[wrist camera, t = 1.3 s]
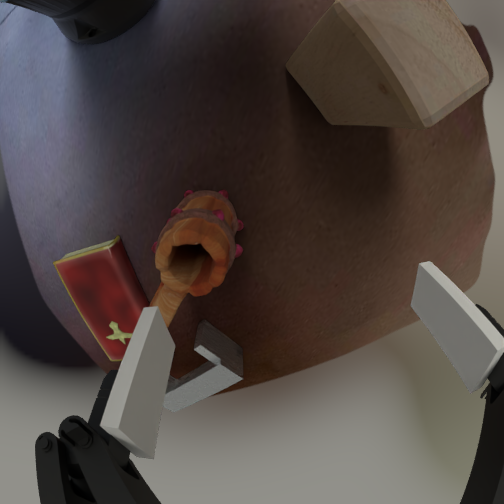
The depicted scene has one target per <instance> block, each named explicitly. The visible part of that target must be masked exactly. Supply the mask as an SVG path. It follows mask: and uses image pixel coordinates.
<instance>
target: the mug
mask: <svg viewBox="0 0 504 504" xmlns="http://www.w3.org/2000/svg"><path fill="white" fill-rule="evenodd" d="M228 196H229V194H228V192H227V191H226V190H221V191H219V192H216V191H211V190H201V191H197V192H193V191H192V190H187V191H186V192H185V193H184V197H185V198H184V199H183V200H182V201H181V202H180V203H179V205H178V206H177V207H176V208H175V209H174V210H172V212H171V218H170V219H168V220H167V222H166V225H165V227H164V228H163V230H162V231H161V233H160V235H159V238H158V241H157V242H155V243H154V245H153V246H152V248H151V249H152V251H153V253H155V254H156V255H155V263H156V268H157V269H158V270H160V272H161V283H160V285H159V287H158V289H157V291H156V293H155V296H154V298H153V300H152V301H151V303H150V306H149V307H155V306H158V308H159V310H160V313H161V315H162V317H163V320H164V322H165V324H166V327H167V328H168V327H169V325H170V323H171V321H172V319H173V317H174V315H175V313H176V311H177V309H178V307H179V305H180V303H181V302H182V300H183V299H184V297H185V296H186V295H187V293H190V294H192V295H193V296H195V297H196V296H202V295H207V294H208V293H210V292H211V290H212V289H213V287H218V286H219V285H221V284H222V282H223V281H224V278H225V275H226V273H227V272H228V271H229V269H230V267H231V266H232V263H233V261H234V258H237V257H239V256H240V255H241V254H242V252H243V249H242V248H241V246H240V245H238V244H236V243H235V238H234V237H235V234H236V232H237V231H240V230H242V229H243V228H244V225H243V222H242V221H241V220H239V219H237V215H236V211H235V209H234V207H233V205H232V203H231V202H230V201H229V199H228Z"/></svg>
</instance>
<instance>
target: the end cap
mask: <svg viewBox="0 0 504 504" xmlns="http://www.w3.org/2000/svg"><path fill="white" fill-rule="evenodd" d="M194 350H195V351H197V352H198V353H199V354H201V355H202V356H204V357H205V358H207V359H208V360H209V361H208V362H206V363H205V364H203V365H201V366H199V367H198V368H196V369H194V370H193V371H191V372H189V373H188V374H186V375H184V376H182V377H181V378H179V379H176V378H174V377H172V376H171V375H169V378H168V383H167V388H166V393H165V398H164V403H163V407H165V408H166V409H168V410H170V411H172V412H176V411H178V410H180V409H183V408H185V407H187V406H189V405H192V404H194V403H196V402H198V401H200V400H202V399H205V398H207V397H209V396H211V395H213V394H215V393H217V392H219V391H221V390H223V389H225V388H227V387H229V386H231V385H233V384H235V383H236V382H238V381H240V380H242V379H243V348H242V347H240V346H239V345H238V344H236V343H235V342H234V341H232V340H231V339H230V338H228V337H227V336H226V335H225V334H223V333H222V332H221V331H219V330H218V329H217V328H215V327H214V326H213V325H212V324H210V323H209V322H208V321H207V320H205V319H204V320H202V321H201V322H200V323H198V328H197V334H196V339H195V345H194Z"/></svg>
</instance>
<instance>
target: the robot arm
mask: <svg viewBox="0 0 504 504" xmlns="http://www.w3.org/2000/svg"><path fill="white" fill-rule="evenodd" d="M0 2H6V3H10V4H13V5H17V6H20V7H23V8H26V9H30V10H32V11H35V12H38V13H41V14H44V15H46V16H49V17H51V18H52V19H53V20H54V22H55V23H56V25H57V26H58V27H59V29H60V30H61V32H62V33H63V34H64V35H65V36H66V37H67V38H69V39H70V40H73V41H75V42H78V43H81V44H97V43H101V42H105V41H108V40H110V39H112V38H114V37H117V36H118V35H120V34H122V33H124V32H125V31H127V30H128V29H129V28H131V27H132V26H133V25H135V24H136V23H137V22H138V21H139V20H140V19H141V18H142V17H143V16H144V15H145V14H146V13H147V12H148V10H149V9H150V8H151V6H152V5H153V3H154V2H155V0H0ZM411 307H412V308H413V310H414V311H415V312H416V314H417V315H418V316H419V318H420V319H421V320H422V321H423V323H424V324H425V326H426V327H427V328H428V330H429V331H430V333H431V334H432V335H433V337H434V338H435V340H436V341H437V343H438V344H439V345H440V347H441V348H442V350H443V351H444V353H445V354H446V356H447V357H448V359H449V360H450V362H451V363H452V365H453V366H454V368H455V369H456V371H457V373H458V374H459V375H460V377H461V379H462V380H463V382H464V384H465V385H466V387H467V389H468V390H469V392H470V394H471V393H472V392H474V391H476V390H477V389H479V388H481V387H482V386H483V384H484V383H485V381H486V380H487V378H488V380H489V381H490V383H489V385H488V386H487V387H486V389H485V390H484V391H483V393H482V394H481V397H480V398H483V396H484V395H485V394H486V392H487V396H486V397H485V399H486V405H485V412H484V418H483V424H482V430H481V435H480V440H479V444H478V448H477V452H476V456H475V460H474V464H473V467H472V471H471V474H470V477H469V480H468V483H467V486H466V489H465V492H464V495H463V497H462V500H461V502H460V504H504V329H503V328H502V327H501V326H500V325H499V324H498V323H497V322H496V320H495V319H494V318H493V317H492V316H491V315H490V314H489V313H488V311H487V310H486V309H484V308H483V307H481V306H480V305H478V304H476V305H474V304H473V303H472V302H471V301H470V300H469V298H467V296H466V295H465V294H464V293H463V292H462V291H461V290H460V289H459V288H458V287H457V286H456V285H455V284H454V283H453V282H452V281H451V280H450V279H449V278H448V277H446V276H445V275H444V274H443V273H442V272H441V271H440V270H439V269H438V268H437V267H436V266H435V265H434V264H433V263H432V262H430V261H428V262H423V263H419V266H418V272H417V277H416V283H415V288H414V293H413V297H412V302H411ZM174 350H175V344H174V342H173V340H172V338H171V336H170V333H169V331H168V329H167V327H166V324H165V322H164V320H163V317H162V315H161V313H160V310H159V308H158V306H155V307H145V308H143V311H142V313H141V315H140V318H139V320H138V323H137V325H136V327H135V330H134V332H133V335H132V337H131V340H130V342H129V345H128V347H127V350H126V352H125V355H124V357H123V360H122V363H121V365H120V368H119V370H111V371H110V372H109V373H108V374H107V375H106V377H105V378H104V380H103V382H102V385H101V387H100V389H101V390H99V393H98V395H97V396H98V398H96V401H95V404H94V406H93V410H92V413H91V415H90V418H89V421H88V423H87V422H86V421H85V420H84V419H83V418H81V417H79V416H74V415H73V416H69V417H67V418H66V419H65V420H63V421H62V423H61V424H60V427H59V430H58V431H59V432H58V433H59V437H60V438H57V437H56V436H55V435H54V434H52V433H50V432H45V433H43V434H41V435H40V436H39V437H38V439H37V440H36V444H35V456H36V471H37V480H38V489H39V496H40V502H41V504H161V503H160V501H159V500H158V499H157V497H156V496H155V495H154V493H153V492H152V491H151V489H150V488H149V486H148V485H147V484H146V482H145V480H144V479H143V477H142V476H141V474H140V473H139V471H138V470H137V468H136V467H135V465H134V464H133V462H132V461H131V460H130V459H129V455H130V452H131V453H133V454H134V455H135V456H137V457H142V458H149V459H154V454H155V448H156V442H157V435H158V430H159V424H160V418H161V413H162V408H163V403H164V398H165V393H166V388H167V383H168V378H169V373H170V368H171V364H172V359H173V355H174Z"/></svg>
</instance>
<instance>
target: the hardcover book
mask: <svg viewBox="0 0 504 504" xmlns="http://www.w3.org/2000/svg"><path fill="white" fill-rule="evenodd" d="M53 264H54V266H55V268H56V270H57V272H58V274H59V276H60V278H61V280H62V282H63V284H64V286H65V288H66V290H67V292H68V293H69V295H70V297H71V299H72V301H73V303H74V304H75V306H76V308H77V309H78V311H79V313H80V315H81V316H82V318H83V320H84V321H85V323H86V324H87V326H88V328H89V329H90V331H91V332H92V334H93V335H94V337H95V338H96V340H97V341H98V343H99V344H100V346H101V347H102V349H103V350H104V352H105V353H106V354H107V356H108V357H109V359H110V360H111V361H122V360H123V357H124V355H125V352H126V350H127V347H128V345H129V342H130V340H131V337H132V335H133V332H134V330H135V327H136V325H137V323H138V320H139V318H140V315H141V313H142V311H143V308H145V307H149V306H150V304H149V302H148V300H147V298H146V296H145V294H144V292H143V290H142V287H141V285H140V283H139V281H138V279H137V277H136V274H135V272H134V270H133V268H132V265H131V263H130V261H129V258H128V256H127V253H126V251H125V249H124V246H123V244H122V241H121V239H120V236H117V237H116V238H115V239H114V240H111V241H108V242H104V243H101V244H98V245H94V246H91V247H88V248H85V249H81V250H78V251H75V252H72V253H69V254H66V255H65V256H64V257H63V258H62V259H61V260H57V261H54V262H53Z"/></svg>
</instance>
